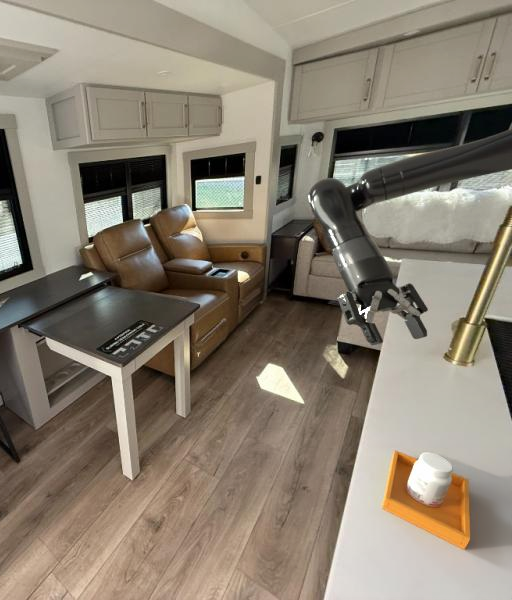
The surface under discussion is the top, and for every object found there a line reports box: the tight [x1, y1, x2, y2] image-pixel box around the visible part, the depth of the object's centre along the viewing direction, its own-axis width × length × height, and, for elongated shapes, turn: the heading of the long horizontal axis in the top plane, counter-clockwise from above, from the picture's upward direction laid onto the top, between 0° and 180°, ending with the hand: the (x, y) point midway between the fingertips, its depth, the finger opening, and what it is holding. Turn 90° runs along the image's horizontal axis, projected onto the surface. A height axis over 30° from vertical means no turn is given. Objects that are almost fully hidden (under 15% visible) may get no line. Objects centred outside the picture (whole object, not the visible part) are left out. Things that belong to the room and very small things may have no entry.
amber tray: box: [381, 450, 471, 551], centre depth 57 cm, size 10×13×3 cm
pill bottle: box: [406, 451, 454, 507], centre depth 56 cm, size 5×5×8 cm
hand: (399, 341), depth 58 cm, fingers open, 8 cm apart
